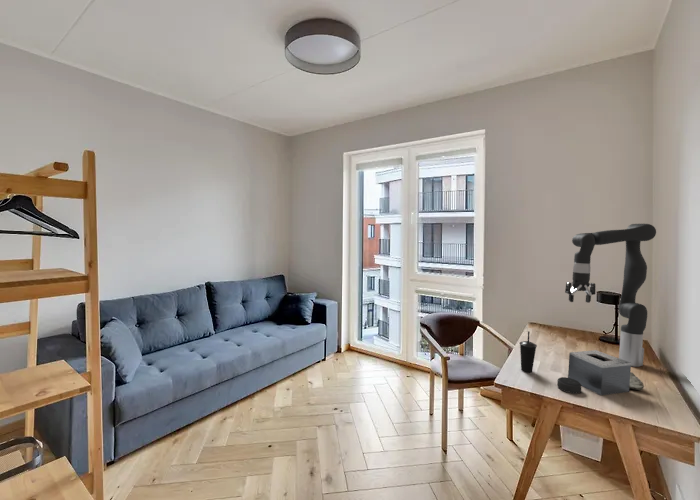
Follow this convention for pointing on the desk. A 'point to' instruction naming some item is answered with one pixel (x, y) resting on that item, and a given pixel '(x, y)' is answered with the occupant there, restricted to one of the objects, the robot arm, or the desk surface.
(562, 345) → the desk surface
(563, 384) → the smart speaker
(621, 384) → the coin box
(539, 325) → the desk surface
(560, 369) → the desk surface
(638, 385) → the rock sample
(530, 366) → the drinking cup
